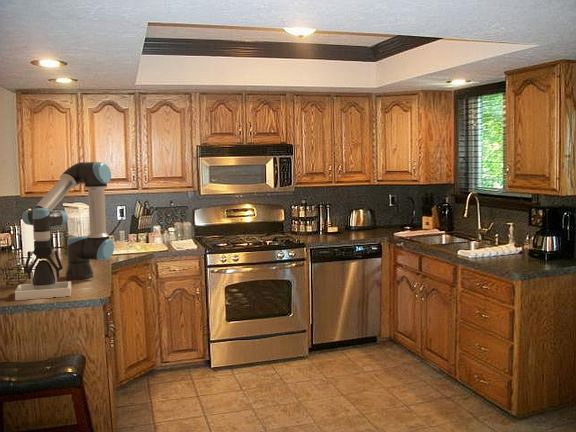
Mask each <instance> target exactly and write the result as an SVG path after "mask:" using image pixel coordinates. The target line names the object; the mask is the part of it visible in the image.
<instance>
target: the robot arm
mask: <svg viewBox="0 0 576 432" xmlns="http://www.w3.org/2000/svg"><path fill="white" fill-rule="evenodd" d="M111 179H112V172H111V169H110V166H108V165H107V163H105V162H99V161H93V162H91V161H90V162H89V161H88V162H87V161H86V162H84V161H83V162H82V161H81V162H77V163H74V164H73V165H71V166H70V167H68V168H67V169H66V170H65V171H64V172H63V173H62V174H61V175H60V176H59V180H58V181H57V182H56V183H55V184H54V185H53V186H52V187H51V188H50V190H48V192H47V193H46V194H45V195H44V196H42V198H41V199H40V201H39V202H37V204H35V206H34V207H33V208H32V209H29V210H25V211H24V212H23V213H22V216H21V220H22V221H23V223H24V224H25V225H28V226H32V227H33V240H34V241H33V247H34V248H33V251H30V250H28V251H27V258H26V261H25V264H24V267H23V268H24V269H23V272H24V273H27V278H28V280H30V284H31V286H33V276H34V271H32V270H33V269H34V268H35V266H36V265H37V264H36V263H38V261H39V260H47V261H48V262H49V263H50V265H51V266H52V268H54V269H55V270H54V277H55V285H57V282H58V278H60V271H61V270H64V269H63V268H64V267H63V265H62V262H61V259H60V257H59V253H58V252H59V250H58V249H55V250H54V249H53V250H52V248H51V247H52V244H51V243H52V242H51V227H57V226H63V225H65V224H66V223H68V220H69V219H68V213H67V212H66V211H65V210H63V209H61V210H59V209H57V210H54V209H55V208H56V207H57V205H58V204H59V203H60V202H61V201H62V200H63V198H64V197H65V196H66V195H67V194H68V193H69V191H71V190H72V189H75V188H76V187H77V186H78V185H81V184H84V188H85V189H86V190H87V191H88V192H87V194H88V195H87V196H88V198H87V199H88V217H89V218H88V219H89V221H88V222H89V234H88V235H81V236H74V237H70V238H68V239H67V241H66V242H67V243H66V248H67V249H66V251H67V267H66V271H65V274H64V276H65V277H64V278H65V280H74V281H75V280H85V279H90V278H93V277H94V271H93V267H92V266H91V261H93V260H94V261H108V260H109V259H110V258H111V257H112V255H113V254H114V251H115V243H114V241H113V240H112V239H110V235H109V233H108V232H107V220H106V199H105V198H106V197H105V195H106V193H105V190H106V189H107V187H108V184H109V183H110V182H111ZM52 254H53V255H54V256H55V259H56V261H57V264H56V263H55V261H54V260H53V259H52V257H51V255H52ZM33 255H34V256H35V258H34V260H33V261H32V264H31V266H30V267H29V264H30V262H31V261H30V260H31V257H32V256H33ZM57 265H58V266H57ZM28 267H29V269H28Z"/></svg>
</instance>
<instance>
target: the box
mask: <svg viewBox="0 0 576 432" xmlns="http://www.w3.org/2000/svg"><path fill="white" fill-rule="evenodd" d="M66 296H69V297H71V296H72V281H71V280H70V281H57V285H55V284H54V287H53V288H52V289H45V290H36V289H35V288H34V285H33V286H31V283H24V284H18V286H17V287H16V289H15V291H14V300H15V301H25V300H26V301H29V300H41V298H42V299H52V298H53V297H56V298H67V297H66ZM28 299H29V300H28Z"/></svg>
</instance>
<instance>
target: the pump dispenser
mask: <svg viewBox="0 0 576 432" xmlns="http://www.w3.org/2000/svg"><path fill="white" fill-rule="evenodd" d="M36 263H37V264H35V267H34V271H33V285H34V288H35V289H36V290H45V289H52V288H53V287H54V284H55V272H54V271H53V266H52V264H51V263H50V261H49V260H47V259H38V261H37V262H36Z"/></svg>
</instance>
